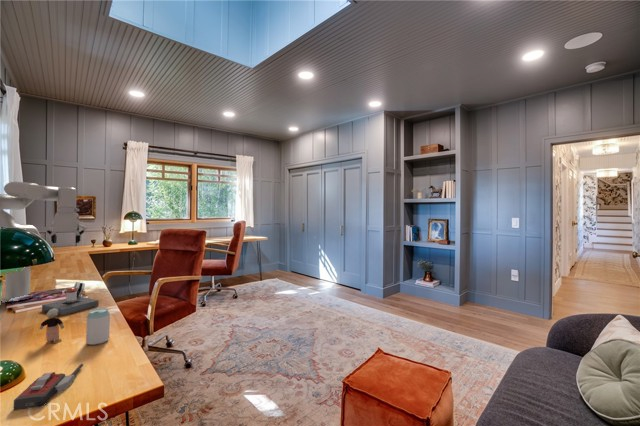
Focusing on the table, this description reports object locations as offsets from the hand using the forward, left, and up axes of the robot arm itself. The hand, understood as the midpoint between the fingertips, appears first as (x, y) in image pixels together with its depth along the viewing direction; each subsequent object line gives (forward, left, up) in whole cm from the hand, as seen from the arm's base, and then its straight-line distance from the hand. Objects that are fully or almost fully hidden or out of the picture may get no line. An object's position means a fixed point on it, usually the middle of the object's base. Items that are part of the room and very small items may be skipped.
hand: (66, 242), depth 154 cm
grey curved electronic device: (-5, +8, -33) cm, 34 cm away
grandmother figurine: (+47, -29, -32) cm, 64 cm away
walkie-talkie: (+81, -46, -33) cm, 98 cm away
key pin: (+11, -3, -32) cm, 34 cm away
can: (+62, -22, -32) cm, 73 cm away
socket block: (+11, -3, -32) cm, 34 cm away
